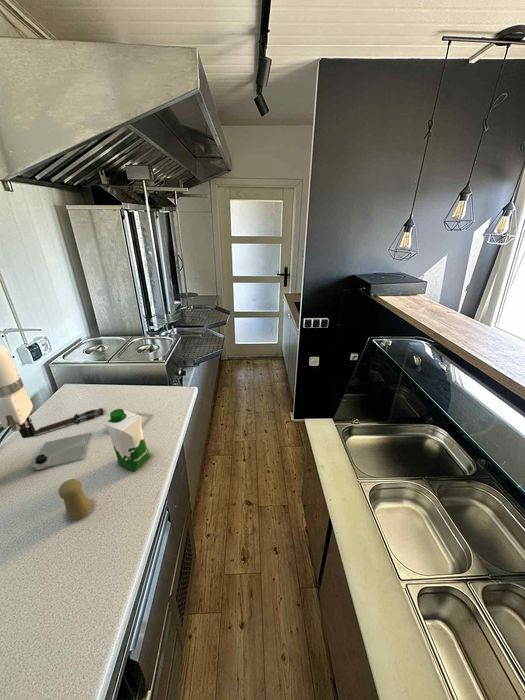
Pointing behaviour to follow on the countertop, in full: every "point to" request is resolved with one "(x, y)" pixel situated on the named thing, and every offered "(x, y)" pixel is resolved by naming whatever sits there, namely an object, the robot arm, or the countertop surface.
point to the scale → (62, 451)
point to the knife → (68, 422)
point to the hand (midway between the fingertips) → (29, 435)
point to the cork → (74, 499)
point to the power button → (40, 458)
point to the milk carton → (127, 438)
